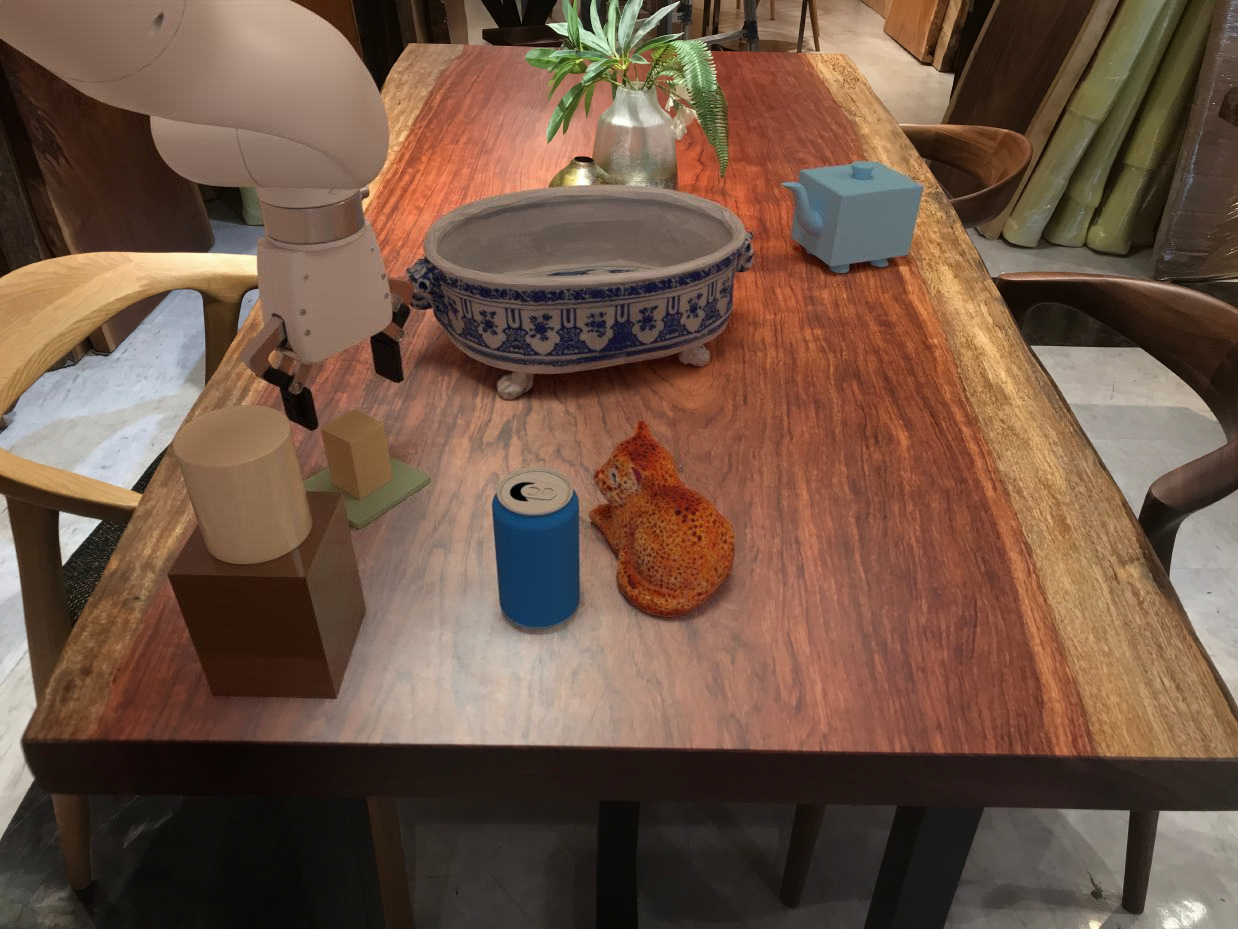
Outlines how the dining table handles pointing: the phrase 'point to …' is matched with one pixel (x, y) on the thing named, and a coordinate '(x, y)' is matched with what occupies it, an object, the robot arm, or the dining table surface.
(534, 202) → the decorative bowl
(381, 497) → the block on board
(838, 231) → the teapot
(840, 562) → the dining table surface
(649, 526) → the figurine
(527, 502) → the beverage can
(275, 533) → the cylinder on cube
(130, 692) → the dining table surface
